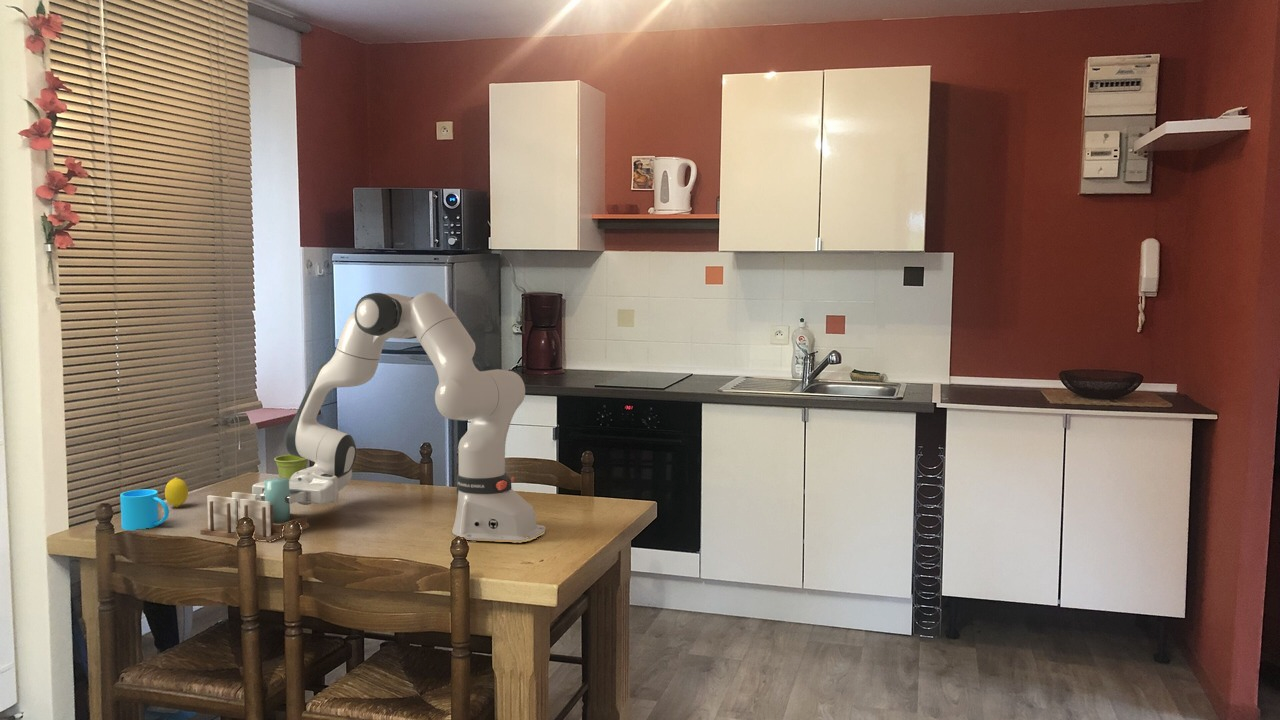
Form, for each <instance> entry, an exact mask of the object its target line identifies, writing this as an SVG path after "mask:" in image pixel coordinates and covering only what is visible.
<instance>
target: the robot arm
mask: <svg viewBox="0 0 1280 720" xmlns="http://www.w3.org/2000/svg"><path fill="white" fill-rule="evenodd" d="M389 339H400V340H401V339H403V340H405V339H406V340H412V339H417V341H418V342H419V344H420V345H421V347H422V349H423V350H424V352H425V353H426V355H427V356H428V358H429V360H430V361H431V362H432V365H433V366H434V369H435V371H436V374H437V377H438V385H437V386H436V389H435V392H434V393H435V394H434V401H435V402H434V404H435V406H436V408H437V410H438V412H439V414H441V416H443V417H444V418H445V419H447V420H453V421H470V420H471V421H470V423H469V426H468V429H467V431H466V432H465V434H463V436H462V437H461V438H460V440H459V441H458V446H457V447H458V449H457V451H458V453H457V454H458V473H457V474H456V494H457V503H456V504H457V505H456V506H457V507H456V513H455V519H454V524H453V526H452V530H451V532H452V534H453V535H455V536H456V537H458V536H460V537H465V538H466V539H468V540H475V539H479V540H480V539H482V540H483V539H485V540H504V541H505V540H509V541H510V540H511V541H522V540H526V539H531V538H533V537H536V536H538V535H540V534H541V533H543V532H544V531H545V530H546V526H545V525H541V524H538V523H537V516H536V512H535V509H534V506H533V505H532V504H531V503H529V502H528V501H527V500H525V499H524V498H523V497H522V496H520V495H519V494H518V493H517V492H516V491H515V490H514V489H513V488H512V483H513V482H515V480H514V479H515V478H516V477H515V476H512V477H509V475H508V474H507V473H506V441H507V437H508V433H509V428H510V427H511V426H510V425H511V422H512V420H513V417H514V415H515V413H516V411H517V410H518V408H519V407H520V406H522V405H521V404H522V403H523V402H524V399H525V397H526V396H525V395H526V385H525V383H524V380H523V378H522V377H521V375H519V373H517V372H514V371H512V370H507V369H500V368H499V369H498V368H496V369H495V368H494V369H487V370H482V371H481V370H479V369H478V368H477V367H476V365H475V364H474V361H473V357H474V356H475V352H476V343H475V341H474V340H473V338H472V336H471V335H470V334H469V332H468V330H467V329H466V328H465V326H464V325H463V323H462V322H461V320H460V319H459V317H458V316H457V314H456V313H455V312H454V310H453V309H452V308H451V307H450V306H449V305H448V304H447V303H446V301H444V300H443V299H442V297H440V296H439V295H438V294H436V293H433V292H430V291H429V292H427V291H426V292H423V293H419V294H417V295H415V296H414V297H413V296H412V297H410V296H407V295H401V294H399V293H383V292H372V293H369V294H365V295H363V296H362V297H361V298H359V300H358V301H357V303H356V305H355V308H354V312H352V313H350V314H349V316H348V318H347V320H346V322H345V323H344V326H343V329H342V331H341V333H340V336H339V339H338V342H337V345H336V349H335V351H334V354H333V356H332V357H331V359H330V360H329V361H328V362H325V363H322V364H320V365H319V367H318V368H317V370H316V372H315V373H314V375H313V376H312V378H311V380H310V383H309V385H308V387H307V390H306V391H305V394H304V396H303V398H302V400H301V402H300V404H299V407H298V409H297V412H296V413H295V415H294V416H293V419H292V420H291V422H290V423H289V425H288V427H287V428H286V431H285V432H284V435H283V443H284V446H285V449H286V450H287V453H288V455H294V456H297V457H301V458H306V459H308V461H311V462H314V465H313V466H309V467H306V469H303V470H300V471H298V472H296V473H294V474H293V475H292V476H291V478H290V480H289V491H290V495H288V496H286V497H285V499H286V503H290V505H291V504H294V503H298V504H299V505H303V506H309V505H311V504H319V505H325V504H330V503H335V502H338V500H339V492H340V491H342V490H343V489H344V488H346V486H348V485H349V483H350V482H351V480H352V476H353V471H352V468H353V466H354V465H355V461H356V457H357V445H356V443H355V439H354V438H353V437H352V435H351V434H349V433H347V432H346V433H345V432H343V431H341V430H339V429H336V428H332V427H329V426H327V425H325V424H322V423H319V422H318V420H317V417H318V415H319V413H320V410H321V408H322V407H323V405H324V401H325V399H326V397H327V394H329V392H330V391H331V390H334V389H337V388H351V387H352V388H353V387H358V386H363V385H365V384H367V383H368V382H369V381H371V380H372V379H373V378H374V376H375V374H376V372H377V369H378V367H379V362H380V359H381V356H382V352H383V347H384V345H385V343H386V342H387V341H388V340H389ZM264 481H265V480H264ZM264 481H259V482H256V483H254V484H253V485H252V486H251V494H257V500H259V501H265V485H264ZM526 537H528V538H526Z"/></svg>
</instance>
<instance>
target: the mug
mask: <svg viewBox="0 0 1280 720" xmlns="http://www.w3.org/2000/svg"><path fill="white" fill-rule="evenodd" d="M119 496H120V519H121V523H120V524H121V529H122V530H124V531H137V530H136V529H144V530H147V529H146V528H149V529H153V528H155V527H158V526H159V525H161V524H163V523H164V522H166V521H167V519H168V518H169V514H170V510H169V506H168V505H167V503H166V501H164V500H163V499H162V498H160V497H159V493H158V490H156V489H147V488H146V489H144V488H143V489H134V490H128V491H124V492H121V493H120V495H119ZM159 504H160V505H161V507H162V509H163V511H164V512H163V517H162V518H161V519H160V518H159V517H160V516H159Z"/></svg>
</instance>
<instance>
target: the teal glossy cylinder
mask: <svg viewBox="0 0 1280 720" xmlns="http://www.w3.org/2000/svg"><path fill="white" fill-rule="evenodd" d="M264 485H265V501H266V502H270V505H273V523H275V524H280V523H285V522H288V521H290V513H291V503H286V499H285V497H286V496H288V495H290V491H289V479H288V478H280V477H272V478H271V477H270V478H267V479H265V480H264Z"/></svg>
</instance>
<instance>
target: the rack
mask: <svg viewBox="0 0 1280 720" xmlns="http://www.w3.org/2000/svg"><path fill="white" fill-rule="evenodd" d="M206 501H207V503H206V505H207V527H205V528H202V529H200V530H199V531H200V535H206V536H213V537H222V538H230V539H237V540H239V539H238V536H237V533H236V525H237V522H238V520H239V519H241V518H243V517H249V518H251V519H252V520H253V522H254V524H255V534H254V538H255V540H257V539H258V540H266V541H272V540H274V539H277V538H280V536H281V539H283V538H282V529H283V526H284V525H285V524H286V523H287V522H285V523H280V524H275V523H273V505H270V502H266V501H260V500H258V499H257V494H252V493H246V492H238V491H233V492H231V497H227V496H218V495H217V496H216V495H209V494H208V495H207V496H206ZM290 521H297V522H298V523H300V525H301V527H302V529H303V530H305V529H308V528H309V527H310V526H309V523H308V517H307V515H306V514H298V513H291V512H290ZM288 522H289V521H288Z"/></svg>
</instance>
